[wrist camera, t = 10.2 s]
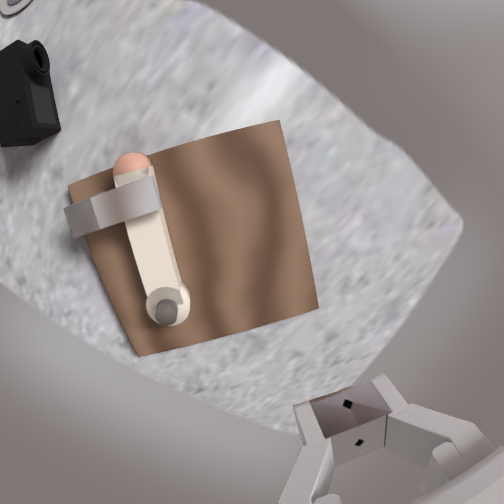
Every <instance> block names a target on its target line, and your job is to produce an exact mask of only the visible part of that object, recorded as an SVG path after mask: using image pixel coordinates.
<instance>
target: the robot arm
mask: <svg viewBox="0 0 504 504" xmlns="http://www.w3.org/2000/svg"><path fill="white" fill-rule="evenodd" d="M293 410H294V414H295V418H296V422H297V426H298V429H299V433H300V436H301V440H302V442H303V445H304V446H303V447H301V450H300V452H299V455H298V458H297V460H296V462H295V465H294V467H293V470H292V472H291V475H290V477H289V479H288V482H287V484H286V486H285V489H284V491H283V493H282V495H281V498H280V500H279V502H278V504H342V503H341V501H340V498H339V496H338V495H334V494H329V495H328V491H329V488H330V484H331V480H332V477H333V473H334V470H335V467H336V466H339V465H341V464H344V463H346V462H349V461H351V460H354V459H356V458H359V457H361V456H364V455H367V454H369V453H372V452H374V451H377V450H379V449H382V448H384V447H385V449H386V450H388V451H390V452H392V453H394V454H395V455H397V456H399V457H401V458H403V459H405V460H407V461H409V462H410V463H413V464H415V465H416V466H418V467H420V468H422V469H425V470H426V471H425V474H424V476H423V479H422V481H421V484H420V486H419V489H420V490H421V492H422V494H423V497H421V498H419V499H417V500H415V501H413V502H411V503H409V504H504V444H503V445H501V446H500V447H499V448H497V449H496V450H495V449H494V447H493V446H492V445H491V444H490V443H489V442H488V440H487V439H486V438H485V436H484V435H483V434H482V433H481V432H480V430H479V429H478V428H477V427H476V426H475V424H474V423H471V422H468V421H464V420H461V419H458V418H454V417H451V416H448V415H445V414H442V413H439V412H436V411H433V410H430V409H427V408H424V407H421V406H418V405H415V404H409V405H407V403H406V402H405V401H404V399H403V398H402V397H401V395H400V394H399V392H398V391H397V390H396V388H395V387H394V386H393V384H392V383H391V382H390V380H389V379H388V378H387V376H386V375H385V374H383V373H381V374H379V375H377V376H374V377H372V378H369V379H367V380H364V381H361V382H359V383H357V384H354V385H352V386H349V387H346V388H344V389H341V390H339V391H337V392H334V393H331V394H328V395H325V396H322V397H318V398H315V399H312V400H309V401H306V402H302V403H299V404H296V405H293Z"/></svg>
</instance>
